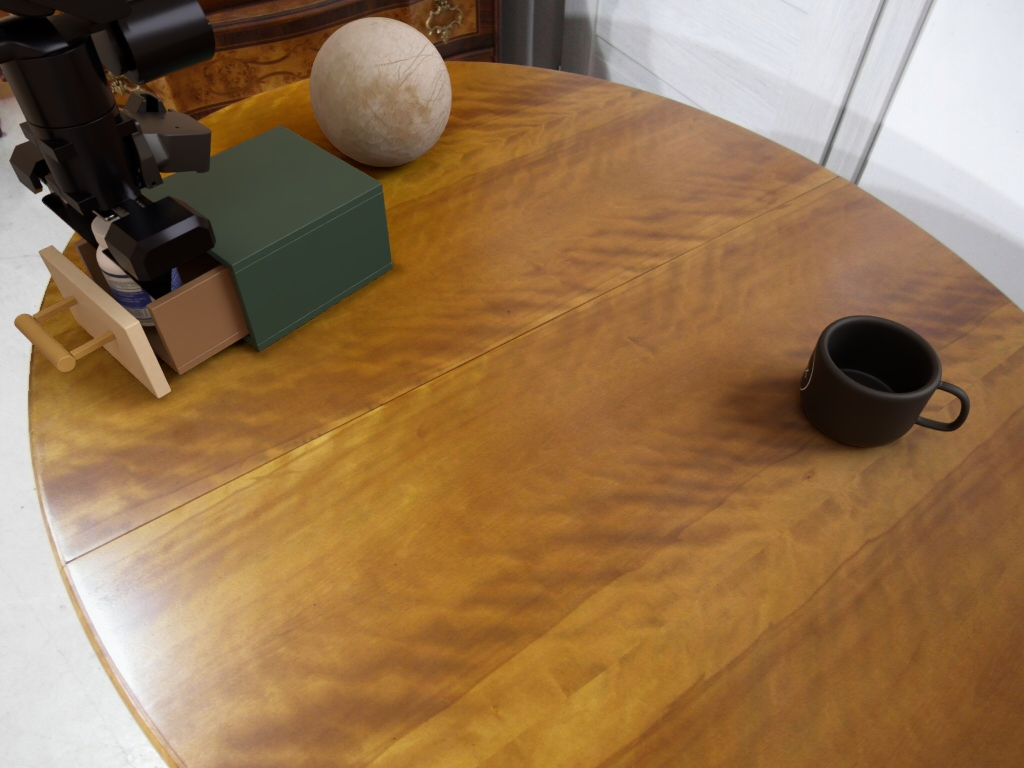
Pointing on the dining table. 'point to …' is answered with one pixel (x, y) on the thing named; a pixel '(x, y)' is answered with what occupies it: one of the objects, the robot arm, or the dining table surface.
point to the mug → (873, 382)
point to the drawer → (177, 318)
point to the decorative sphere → (380, 92)
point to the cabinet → (287, 227)
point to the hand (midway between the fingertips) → (146, 284)
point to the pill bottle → (125, 279)
